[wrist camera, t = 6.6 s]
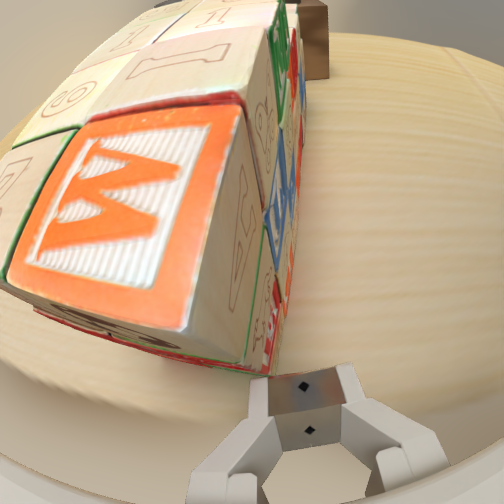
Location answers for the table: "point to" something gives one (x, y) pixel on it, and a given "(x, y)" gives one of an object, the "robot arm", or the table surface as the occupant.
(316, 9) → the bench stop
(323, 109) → the table surface
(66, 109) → the stack of blocks
